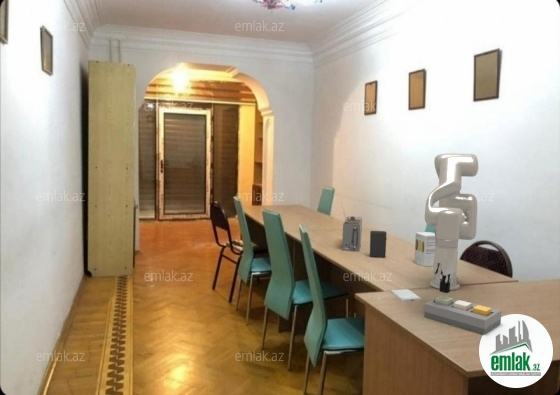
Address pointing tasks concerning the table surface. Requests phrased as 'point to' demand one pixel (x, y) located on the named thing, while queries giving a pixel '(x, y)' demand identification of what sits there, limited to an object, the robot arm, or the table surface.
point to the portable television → (352, 233)
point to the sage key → (444, 300)
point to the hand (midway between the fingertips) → (444, 291)
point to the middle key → (462, 305)
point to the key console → (463, 317)
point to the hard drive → (406, 295)
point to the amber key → (482, 310)
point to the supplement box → (424, 248)
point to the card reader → (378, 244)
